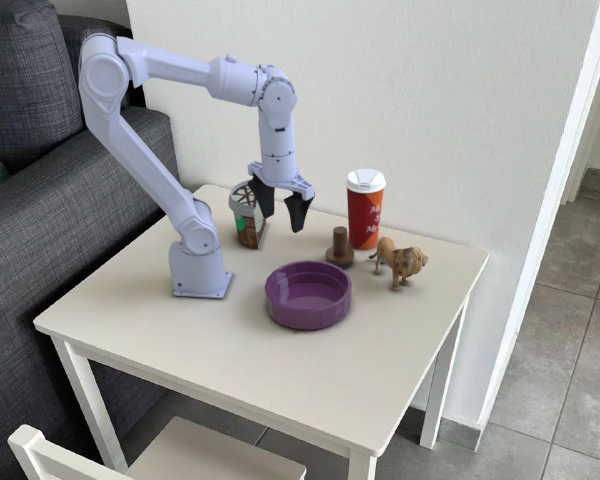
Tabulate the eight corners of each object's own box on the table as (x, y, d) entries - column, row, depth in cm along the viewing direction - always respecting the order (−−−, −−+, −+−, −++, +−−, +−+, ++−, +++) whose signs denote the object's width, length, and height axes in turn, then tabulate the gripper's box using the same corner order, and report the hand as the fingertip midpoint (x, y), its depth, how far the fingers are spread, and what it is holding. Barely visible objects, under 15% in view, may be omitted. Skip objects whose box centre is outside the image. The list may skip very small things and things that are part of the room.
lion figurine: (428, 291, 114) (434, 248, 108) (406, 301, 112) (410, 258, 106) (378, 255, 123) (381, 213, 117) (357, 264, 121) (358, 222, 115)
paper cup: (380, 253, 123) (384, 187, 113) (342, 251, 125) (342, 185, 115) (383, 232, 129) (388, 167, 119) (346, 230, 130) (347, 165, 120)
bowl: (259, 328, 109) (257, 308, 105) (275, 278, 119) (273, 258, 116) (346, 335, 107) (346, 314, 103) (354, 283, 117) (355, 262, 114)
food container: (239, 220, 135) (234, 176, 127) (267, 221, 134) (264, 177, 127) (227, 251, 126) (220, 206, 119) (257, 253, 125) (252, 207, 118)
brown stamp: (323, 269, 120) (323, 236, 115) (327, 253, 124) (327, 221, 119) (352, 271, 120) (353, 238, 114) (355, 255, 123) (356, 222, 118)
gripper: (326, 153, 101) (327, 228, 111) (265, 130, 109) (271, 201, 119) (295, 168, 98) (299, 244, 108) (235, 143, 105) (244, 216, 115)
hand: (283, 223), depth 113 cm, fingers open, 7 cm apart
